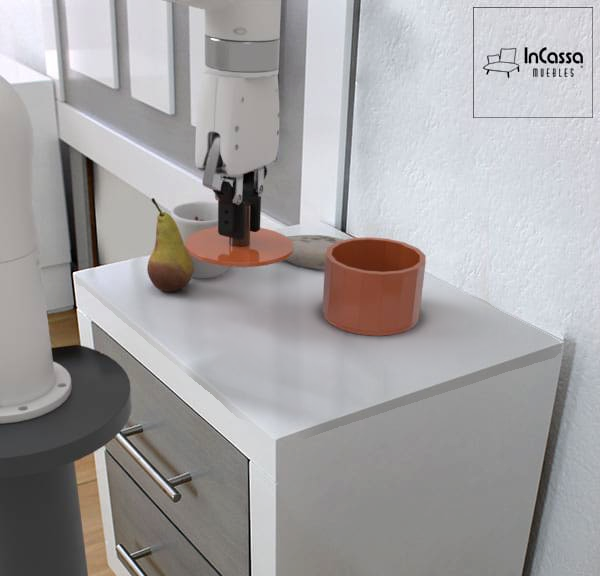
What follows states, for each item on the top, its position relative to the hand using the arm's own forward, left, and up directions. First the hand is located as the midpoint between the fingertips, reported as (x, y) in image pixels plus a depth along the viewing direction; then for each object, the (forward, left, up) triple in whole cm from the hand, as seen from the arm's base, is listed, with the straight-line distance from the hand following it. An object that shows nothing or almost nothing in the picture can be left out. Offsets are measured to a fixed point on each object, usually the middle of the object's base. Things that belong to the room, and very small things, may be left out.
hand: (239, 231), depth 101 cm
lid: (0, 0, -2) cm, 2 cm away
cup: (+9, +10, -10) cm, 17 cm away
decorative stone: (+19, 0, -10) cm, 22 cm away
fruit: (+1, +11, -10) cm, 15 cm away
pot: (+8, -13, -10) cm, 19 cm away
